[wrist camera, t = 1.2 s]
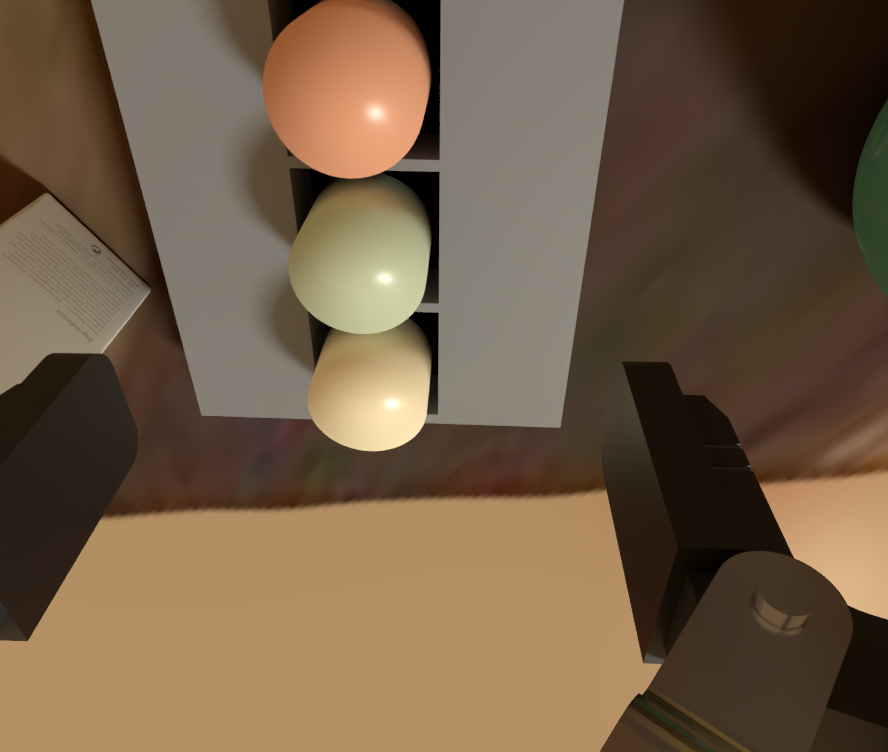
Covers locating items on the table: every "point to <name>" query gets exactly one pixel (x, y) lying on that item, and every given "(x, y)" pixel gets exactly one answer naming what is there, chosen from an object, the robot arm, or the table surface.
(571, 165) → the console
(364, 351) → the button cream
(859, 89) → the table surface
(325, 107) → the button terracotta
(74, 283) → the small box
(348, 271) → the button sage
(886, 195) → the mug
